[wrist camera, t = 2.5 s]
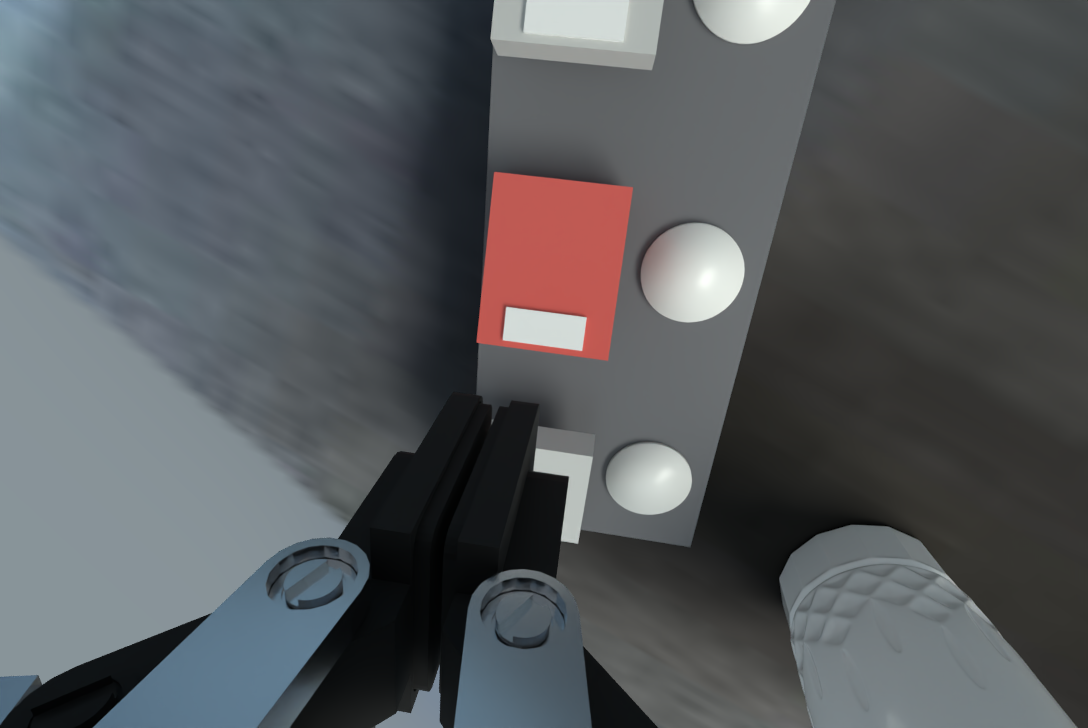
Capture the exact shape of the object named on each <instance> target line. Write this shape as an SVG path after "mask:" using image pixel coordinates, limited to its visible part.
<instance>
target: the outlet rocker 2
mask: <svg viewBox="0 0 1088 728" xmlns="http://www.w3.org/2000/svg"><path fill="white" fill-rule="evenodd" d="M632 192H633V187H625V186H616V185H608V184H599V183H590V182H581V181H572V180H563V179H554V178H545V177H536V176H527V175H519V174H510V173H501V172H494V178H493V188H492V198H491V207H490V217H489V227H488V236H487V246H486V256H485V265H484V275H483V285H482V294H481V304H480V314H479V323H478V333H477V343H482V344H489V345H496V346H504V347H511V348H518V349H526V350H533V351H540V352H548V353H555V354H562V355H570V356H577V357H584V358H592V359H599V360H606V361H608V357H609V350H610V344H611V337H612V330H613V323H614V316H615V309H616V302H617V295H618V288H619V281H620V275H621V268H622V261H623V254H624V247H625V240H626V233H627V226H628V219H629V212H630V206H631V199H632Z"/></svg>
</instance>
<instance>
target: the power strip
mask: <svg viewBox="0 0 1088 728" xmlns="http://www.w3.org/2000/svg"><path fill="white" fill-rule="evenodd" d="M835 2H836V0H664V2H663V9H662V16H661V23H660V30H659V37H658V43H657V50H656V56H655V60H654V64H653V68H652V70H644V69H633V68H623V67H612V66H602V65H592V64H581V63H571V62H560V61H550V60H540V59H529V58H519V57H508V56H498V55H497V53H496V50H495V48H494V46H493V57H492V78H491V99H490V120H489V141H488V162H487V182H486V203H485V224H484V245H483V266H482V285H483V275H484V265H485V256H486V246H487V236H488V227H489V217H490V207H491V198H492V188H493V178H494V172H501V173H510V174H519V175H527V176H536V177H545V178H554V179H563V180H572V181H581V182H590V183H599V184H608V185H616V186H625V187H633V192H632V199H631V206H630V212H629V219H628V226H627V233H626V240H625V247H624V254H623V261H622V268H621V275H620V281H619V288H618V295H617V302H616V309H615V316H614V323H613V330H612V337H611V344H610V350H609V357H608V361H606V360H599V359H592V358H584V357H577V356H570V355H562V354H555V353H548V352H540V351H533V350H526V349H518V348H511V347H504V346H496V345H489V344H482V343H479V350H478V370H477V391H476V395H479V396H482V397H483V404H490V405H492V419H493V420H494V418H495V415H496V413H497V411H498V408H499V406H504V407H509V405H510V402H511V401H512V400H514V401H522V402H529V403H536V404H540V412H539V422H538V426H540V427H547V428H554V429H561V430H568V431H575V432H581V433H588V434H595V442H594V452H593V460H592V465H591V471H590V477H589V483H588V489H587V494H586V500H585V506H584V512H583V517H582V523H581V529H580V530H587V531H593V532H599V533H605V534H612V535H618V536H624V537H630V538H637V539H643V540H649V541H655V542H662V543H668V544H674V545H680V546H687V547H690V546H691V543H692V539H693V535H694V531H695V528H696V524H697V520H698V516H699V513H700V509H701V505H702V501H703V498H704V494H705V490H706V486H707V483H708V479H709V475H710V471H711V468H712V464H713V460H714V456H715V453H716V449H717V445H718V441H719V438H720V434H721V430H722V426H723V423H724V419H725V415H726V411H727V408H728V404H729V400H730V396H731V393H732V389H733V385H734V381H735V377H736V374H737V370H738V366H739V362H740V359H741V355H742V351H743V347H744V344H745V340H746V336H747V332H748V329H749V325H750V321H751V317H752V314H753V310H754V306H755V302H756V299H757V295H758V291H759V287H760V284H761V280H762V276H763V272H764V269H765V265H766V261H767V257H768V254H769V250H770V246H771V242H772V239H773V235H774V231H775V227H776V224H777V220H778V216H779V212H780V209H781V205H782V201H783V197H784V194H785V190H786V186H787V182H788V179H789V175H790V171H791V167H792V164H793V160H794V156H795V152H796V149H797V145H798V141H799V137H800V133H801V130H802V126H803V122H804V118H805V115H806V111H807V107H808V103H809V100H810V96H811V92H812V88H813V85H814V81H815V77H816V73H817V70H818V66H819V62H820V58H821V55H822V51H823V47H824V43H825V40H826V36H827V32H828V28H829V25H830V21H831V17H832V13H833V10H834V6H835ZM481 294H482V287H481Z"/></svg>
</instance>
